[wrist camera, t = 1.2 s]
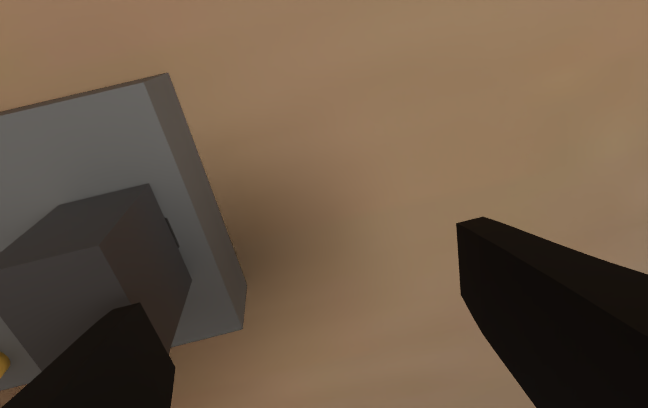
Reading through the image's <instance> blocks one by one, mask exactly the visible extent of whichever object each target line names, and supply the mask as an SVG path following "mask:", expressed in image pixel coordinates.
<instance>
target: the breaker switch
mask: <svg viewBox="0 0 648 408" xmlns="http://www.w3.org/2000/svg"><path fill="white" fill-rule="evenodd" d="M191 283H192V278H191V276H190V274H189V272H188V269H187V267H186V265H185V263H184V260H183V258H182V256H181V254H180V252H179V249H178V247H177V245H176V243H175V240H174V238H173V236H172V234H171V231H170V229H169V227H168V225H167V222H166V220H165V218H164V216H163V213H162V211H161V209H160V207H159V204H158V202H157V200H156V198H155V195H154V193H153V191H152V189H151V187H150V184H149V183H148V184H144V185H140V186H136V187H132V188H127V189H123V190H119V191H115V192H111V193H107V194H103V195H99V196H94V197H90V198H86V199H82V200H78V201H74V202H70V203H65V204H61V205H58V206H57V207H56V208H54V209H53V210H52V211H51V212H49V213H48V214H47V215H46V216H45V217H43V218H42V219H41V220H40V221H38V222H37V223H36V224H35V225H33V226H32V227H31V228H30V229H29V230H27V231H26V232H25V233H24V234H22V235H21V236H20V237H19V238H17V239H16V240H15V241H14V242H13V243H11V244H10V245H9V246H8V247H6V248H5V249H4V250H3V251H1V252H0V317H1V318H2V320H3V321H4V322H5V324H6V325H7V326H8V328H9V329H10V330H11V332H12V333H13V334H14V335H15V337H16V338H17V339H18V341H19V342H20V343H21V345H22V346H23V347H24V349H25V350H26V351H27V353H28V354H29V355H30V357H31V358H32V359H33V361H34V362H35V363H36V364H37V366H38V367H39V368H40V370H41V371H43V370H44V369H45V368H46V367H47V366H48V365H49V364H51V363H52V362H53V361H54V360H55V359H56V358H57V357H58V356H59V355H60V354H62V353H63V352H64V351H65V350H66V349H67V348H68V347H69V346H70V345H71V344H72V343H74V342H75V341H76V340H77V339H78V338H79V337H80V336H81V335H82V334H83V333H85V332H86V331H87V330H88V329H89V328H90V327H91V326H93V325H94V324H95V323H96V322H97V321H98V320H100V319H101V318H102V317H103V316H105V315H106V314H107V313H108V312H110V311H111V310H112V309H115V308H119V307H123V306H127V305H131V304H135V303H139V302H140V303H141V305H142V307H143V309H144V310H145V312H146V314H147V316H148V318H149V320H150V322H151V323H152V325H153V327H154V329H155V331H156V333H157V334H158V336H159V338H160V340H161V342H162V344H163V346H164V347H165V349H166V351H167V353H168V355H169V352H170V348H171V345H172V342H173V339H174V336H175V333H176V330H177V327H178V323H179V320H180V317H181V314H182V311H183V308H184V305H185V302H186V298H187V295H188V292H189V289H190V286H191Z"/></svg>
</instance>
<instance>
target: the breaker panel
mask: <svg viewBox="0 0 648 408" xmlns="http://www.w3.org/2000/svg"><path fill="white" fill-rule="evenodd" d="M148 183H149V184H150V187H151V189H152V191H153V193H154V195H155V198H156V200H157V202H158V204H159V207H160V209H161V211H162V213H163V216H164V218H165V220H166V222H167V225H168V227H169V229H170V231H171V234H172V236H173V238H174V240H175V243H176V245H177V247H178V249H179V252H180V254H181V256H182V258H183V260H184V263H185V265H186V267H187V269H188V272H189V274H190V276H191V278H192V283H191V286H190V289H189V292H188V295H187V298H186V302H185V305H184V308H183V311H182V314H181V317H180V320H179V323H178V327H177V330H176V333H175V336H174V339H173V342H172V345H171V347H175V346H179V345H183V344H186V343H190V342H194V341H198V340H202V339H206V338H210V337H214V336H218V335H222V334H226V333H230V332H234V331H238V330H242V329H243V322H244V312H245V301H246V291H247V284H246V281H245V278H244V276H243V273H242V270H241V268H240V265H239V262H238V259H237V257H236V254H235V251H234V249H233V246H232V243H231V241H230V238H229V235H228V233H227V230H226V227H225V224H224V222H223V219H222V216H221V214H220V211H219V208H218V206H217V203H216V200H215V197H214V195H213V192H212V189H211V187H210V184H209V181H208V179H207V176H206V173H205V170H204V168H203V165H202V162H201V160H200V157H199V154H198V152H197V149H196V146H195V144H194V141H193V138H192V135H191V133H190V130H189V127H188V125H187V122H186V119H185V117H184V114H183V111H182V108H181V106H180V103H179V100H178V98H177V95H176V92H175V90H174V87H173V84H172V81H171V79H170V76H169V73H164V74H160V75H156V76H151V77H147V78H143V79H139V80H134V81H130V82H126V83H122V84H117V85H113V86H109V87H105V88H100V89H96V90H92V91H87V92H83V93H79V94H75V95H70V96H66V97H62V98H58V99H53V100H49V101H45V102H41V103H36V104H32V105H28V106H23V107H19V108H15V109H11V110H6V111H2V112H0V252H1V251H3V250H4V249H5V248H6V247H8V246H9V245H10V244H11V243H13V242H14V241H15V240H16V239H17V238H19V237H20V236H21V235H22V234H24V233H25V232H26V231H27V230H29V229H30V228H31V227H32V226H33V225H35V224H36V223H37V222H38V221H40V220H41V219H42V218H43V217H45V216H46V215H47V214H48V213H49V212H51V211H52V210H53V209H54V208H56V207H57V206H58V205H61V204H65V203H70V202H74V201H78V200H82V199H86V198H90V197H94V196H99V195H103V194H107V193H111V192H115V191H119V190H123V189H127V188H132V187H136V186H140V185H144V184H148ZM41 372H42V371H41V370H40V368H39V367H38V366H37V364H36V363H35V362H34V361H33V359H32V358H31V357H30V355H29V354H28V353H27V351H26V350H25V349H24V347H23V346H22V345H21V343H20V342H19V341H18V339H17V338H16V337H15V335H14V334H13V333H12V332H11V330H10V329H9V328H8V326H7V325H6V324H5V322H4V321H3V320H2V318H1V317H0V391H1V390H5V389H9V388H13V387H17V386H21V385H25V384H29V383H30V382H31V381H32V380H33V379H34V378H35V377H36V376H37V375H39V374H40V373H41Z"/></svg>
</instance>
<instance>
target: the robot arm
mask: <svg viewBox="0 0 648 408" xmlns="http://www.w3.org/2000/svg"><path fill="white" fill-rule="evenodd" d="M456 226H457V242H458V258H459V273H460V289H461V296H462V298H463V300H464V301H465V303H466V305H467V307H468V309H469V311H470V313H471V314H472V316H473V318H474V320H475V321H476V323H477V325H478V327H479V328H480V330H481V332H482V334H483V335H484V336H485V338H486V339H487V341H488V342H489V343H490V345H491V346H492V348H493V349H494V350H495V352H496V353H497V354H498V356H499V357H500V359H501V360H502V361H503V363H504V364H505V366H506V367H507V368H508V370H509V371H510V372H511V374H512V375H513V376H514V378H515V379H516V381H517V382H518V383H519V385H520V386H521V387H522V389H523V390H524V391H525V393H526V394H527V395H528V397H529V398H530V400H531V401H532V402H533V404H534V405H535V406H536V408H648V274H644V273H641V272H638V271H635V270H632V269H629V268H626V267H623V266H619V265H616V264H613V263H610V262H607V261H604V260H601V259H598V258H596V257H593V256H590V255H587V254H584V253H581V252H578V251H576V250H573V249H570V248H567V247H565V246H562V245H559V244H557V243H554V242H551V241H549V240H546V239H543V238H541V237H538V236H535V235H533V234H530V233H527V232H525V231H522V230H519V229H517V228H514V227H511V226H509V225H506V224H503V223H501V222H498V221H495V220H492V219H488V218H485V217H480V218H476V219H472V220H468V221H464V222H460V223H456ZM174 374H175V366H174V364H173V362H172V360H171V359H170V357H169V355H168V353H167V351H166V349H165V347H164V346H163V344H162V342H161V340H160V338H159V336H158V334H157V333H156V331H155V329H154V327H153V325H152V323H151V322H150V320H149V318H148V316H147V314H146V312H145V310H144V309H143V307H142V305H141V303H140V302H139V303H135V304H131V305H127V306H123V307H119V308H115V309H112V310H111V311H110V312H108V313H107V314H106V315H105V316H103V317H102V318H101V319H100V320H98V321H97V322H96V323H95V324H94V325H93V326H91V327H90V328H89V329H88V330H87V331H86V332H85V333H83V334H82V335H81V336H80V337H79V338H78V339H77V340H76V341H75V342H74V343H72V344H71V345H70V346H69V347H68V348H67V349H66V350H65V351H64V352H63V353H62V354H60V355H59V356H58V357H57V358H56V359H55V360H54V361H53V362H52V363H51V364H49V365H48V366H47V367H46V368H45V369H44V370H43V371H42V372H41V373H40V374H39V375H37V376H36V377H35V378H34V379H33V380H32V381H31V382H30V383H29V384H28V385H26V386H25V387H24V388H23V389H22V390H21V391H20V392H19V393H18V394H17V395H15V396H14V397H13V398H12V399H11V400H10V401H9V402H7V403H6V404H5V405H4V406H3V407H2V408H170V406H171V399H172V392H173V383H174Z"/></svg>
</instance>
